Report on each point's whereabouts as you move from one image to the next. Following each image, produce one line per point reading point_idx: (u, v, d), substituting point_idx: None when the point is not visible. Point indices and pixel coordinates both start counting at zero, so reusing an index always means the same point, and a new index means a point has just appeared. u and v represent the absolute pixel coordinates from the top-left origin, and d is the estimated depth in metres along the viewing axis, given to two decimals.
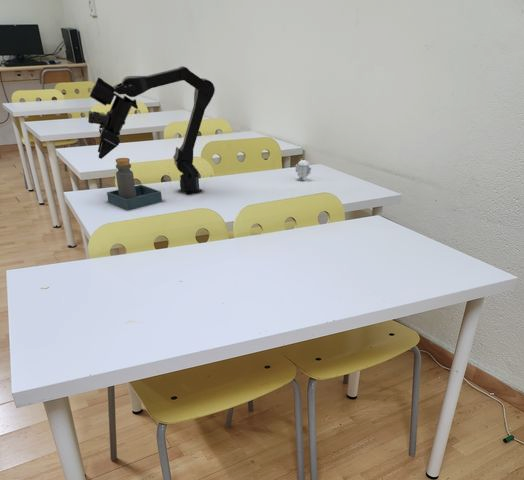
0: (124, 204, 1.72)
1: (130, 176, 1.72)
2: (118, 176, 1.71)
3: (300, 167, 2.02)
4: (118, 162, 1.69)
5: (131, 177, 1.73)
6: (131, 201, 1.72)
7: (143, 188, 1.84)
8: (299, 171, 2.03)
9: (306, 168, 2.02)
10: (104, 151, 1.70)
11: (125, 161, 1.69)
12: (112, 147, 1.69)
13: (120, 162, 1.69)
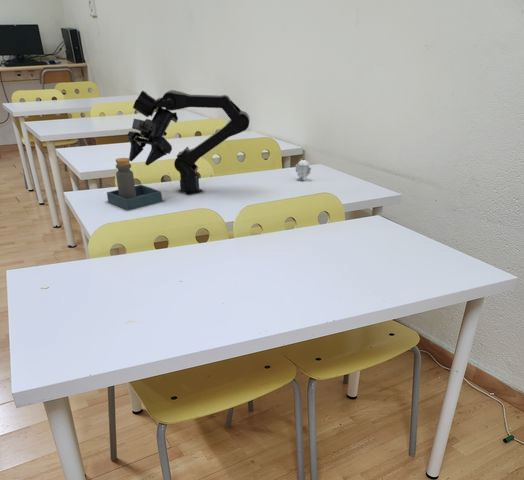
0: (124, 204, 1.72)
1: (130, 176, 1.72)
2: (118, 176, 1.71)
3: (300, 167, 2.02)
4: (118, 162, 1.69)
5: (131, 177, 1.73)
6: (131, 201, 1.72)
7: (143, 188, 1.84)
8: (299, 171, 2.03)
9: (306, 168, 2.02)
10: (152, 158, 1.73)
11: (125, 161, 1.69)
12: (161, 155, 1.74)
13: (120, 162, 1.69)
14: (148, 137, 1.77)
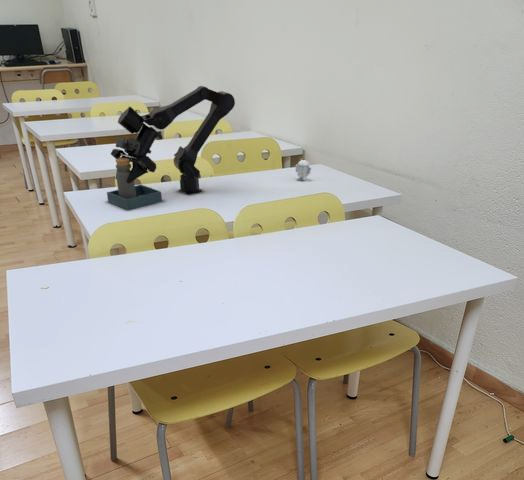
0: (124, 204, 1.72)
1: None
2: (118, 176, 1.71)
3: (300, 167, 2.02)
4: (118, 162, 1.69)
5: None
6: (131, 201, 1.72)
7: (143, 188, 1.84)
8: (299, 171, 2.03)
9: (306, 168, 2.02)
10: (134, 176, 1.72)
11: (125, 161, 1.69)
12: (142, 173, 1.73)
13: (120, 162, 1.69)
14: (132, 155, 1.74)
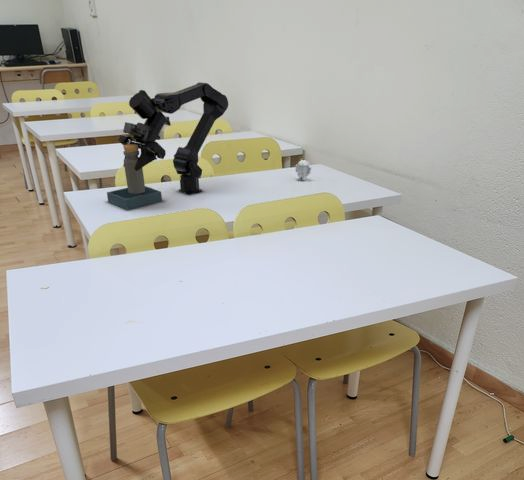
0: (124, 204, 1.72)
1: None
2: (126, 163, 1.65)
3: (300, 167, 2.02)
4: (126, 148, 1.63)
5: None
6: (131, 201, 1.72)
7: None
8: (299, 171, 2.03)
9: (306, 168, 2.02)
10: (142, 163, 1.65)
11: (133, 147, 1.63)
12: (151, 159, 1.66)
13: (128, 148, 1.62)
14: (140, 141, 1.68)
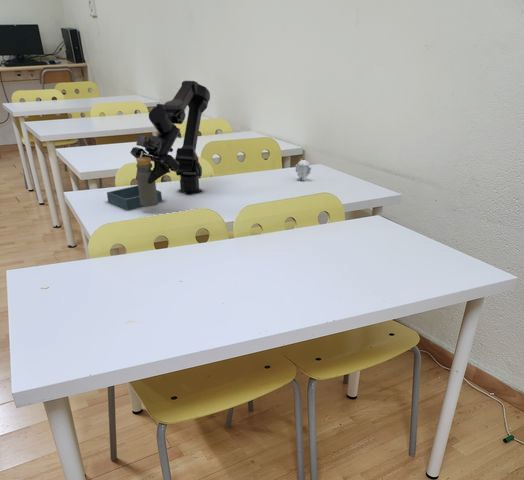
0: (124, 204, 1.72)
1: None
2: (139, 176, 1.62)
3: (300, 167, 2.02)
4: (139, 161, 1.60)
5: None
6: (131, 201, 1.72)
7: None
8: (299, 171, 2.03)
9: (306, 168, 2.02)
10: (155, 176, 1.63)
11: (146, 160, 1.60)
12: (164, 172, 1.64)
13: (141, 161, 1.60)
14: (153, 154, 1.66)
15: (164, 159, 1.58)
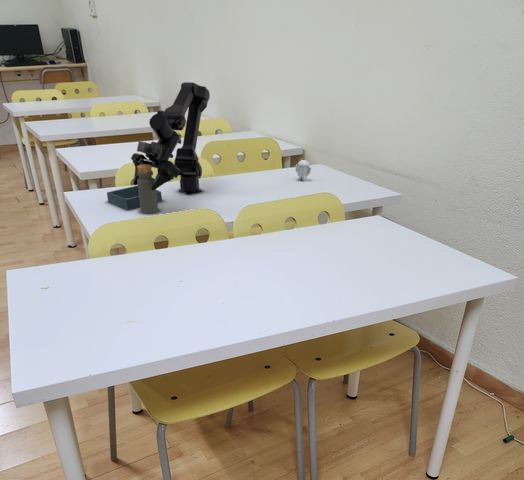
0: (124, 204, 1.72)
1: (152, 183, 1.64)
2: (139, 183, 1.64)
3: (300, 167, 2.02)
4: (140, 169, 1.62)
5: None
6: (131, 201, 1.72)
7: None
8: (299, 171, 2.03)
9: (306, 168, 2.02)
10: (159, 183, 1.63)
11: (147, 168, 1.62)
12: (167, 179, 1.64)
13: (142, 169, 1.61)
14: (154, 160, 1.66)
15: (164, 165, 1.59)
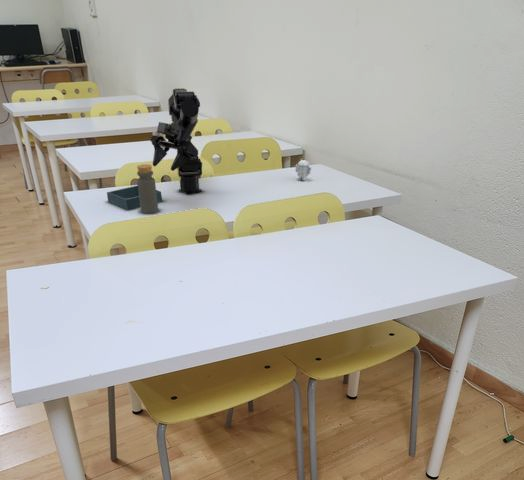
0: (124, 204, 1.72)
1: (152, 183, 1.64)
2: (139, 183, 1.64)
3: (300, 167, 2.02)
4: (140, 169, 1.62)
5: (153, 184, 1.65)
6: (131, 201, 1.72)
7: None
8: (299, 171, 2.03)
9: (306, 168, 2.02)
10: (178, 163, 1.66)
11: (147, 168, 1.62)
12: (186, 160, 1.67)
13: (142, 169, 1.61)
14: (173, 141, 1.70)
15: (184, 145, 1.62)
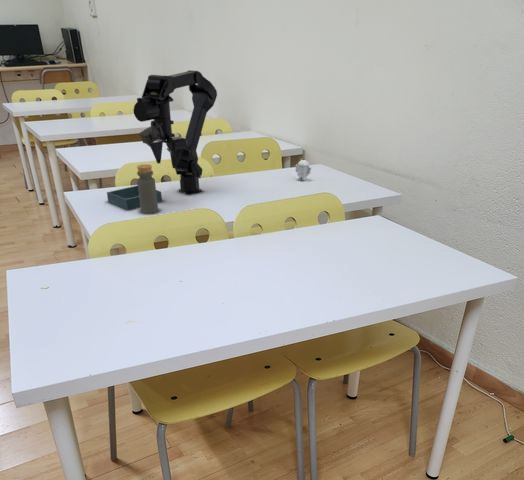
0: (124, 204, 1.72)
1: (152, 183, 1.64)
2: (139, 183, 1.64)
3: (300, 167, 2.02)
4: (140, 169, 1.62)
5: (153, 184, 1.65)
6: (131, 201, 1.72)
7: None
8: (299, 171, 2.03)
9: (306, 168, 2.02)
10: (176, 159, 1.71)
11: (147, 168, 1.62)
12: (181, 151, 1.70)
13: (142, 169, 1.61)
14: None
15: (171, 147, 1.65)
